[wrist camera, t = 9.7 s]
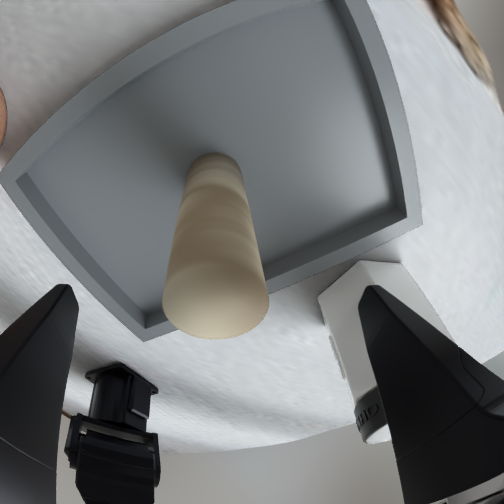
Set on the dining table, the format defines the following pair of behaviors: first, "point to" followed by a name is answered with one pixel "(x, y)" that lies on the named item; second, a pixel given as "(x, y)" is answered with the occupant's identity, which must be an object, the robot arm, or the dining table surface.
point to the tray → (225, 150)
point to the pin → (214, 255)
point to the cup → (2, 117)
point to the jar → (352, 340)
